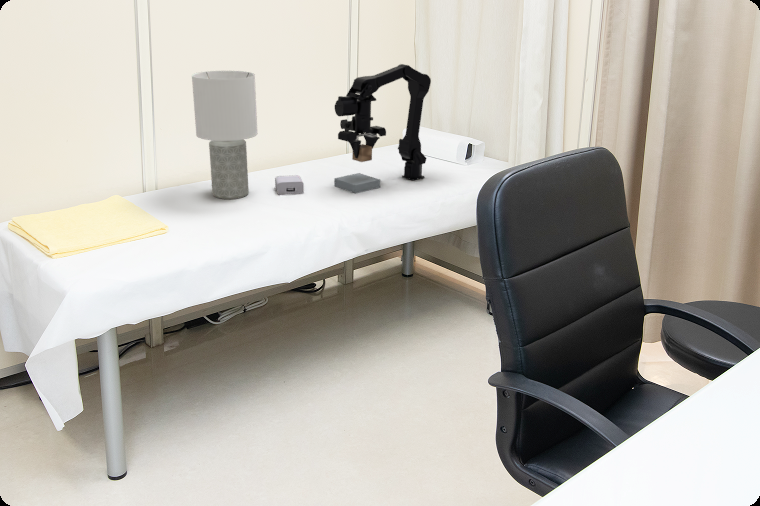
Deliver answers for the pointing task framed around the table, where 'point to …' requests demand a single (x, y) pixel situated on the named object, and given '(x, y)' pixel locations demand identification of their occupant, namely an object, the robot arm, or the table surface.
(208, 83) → the lamp
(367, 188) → the grey base
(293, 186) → the charger
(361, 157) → the walnut cube
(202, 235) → the table surface
